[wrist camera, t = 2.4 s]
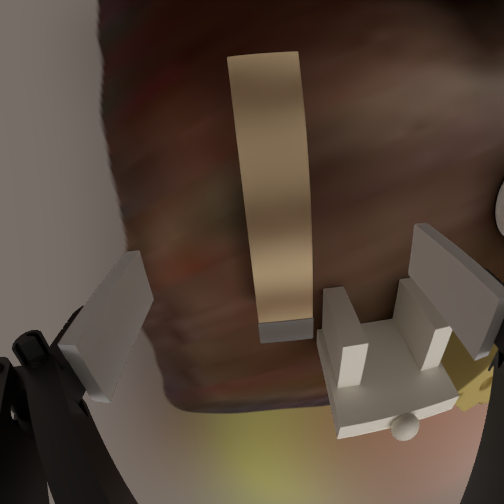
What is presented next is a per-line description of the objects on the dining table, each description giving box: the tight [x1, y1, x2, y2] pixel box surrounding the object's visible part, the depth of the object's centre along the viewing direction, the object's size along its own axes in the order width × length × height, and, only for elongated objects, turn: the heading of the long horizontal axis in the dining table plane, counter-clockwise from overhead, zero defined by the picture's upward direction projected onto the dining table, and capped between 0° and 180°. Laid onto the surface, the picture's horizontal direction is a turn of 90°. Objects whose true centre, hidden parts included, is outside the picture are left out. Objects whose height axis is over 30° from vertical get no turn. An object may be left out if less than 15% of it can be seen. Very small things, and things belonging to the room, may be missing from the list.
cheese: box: [441, 330, 498, 412], centre depth 26 cm, size 10×11×10 cm
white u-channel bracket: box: [317, 278, 459, 441], centre depth 23 cm, size 7×11×14 cm, turn 96°
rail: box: [227, 52, 313, 343], centre depth 21 cm, size 20×4×6 cm, turn 6°
